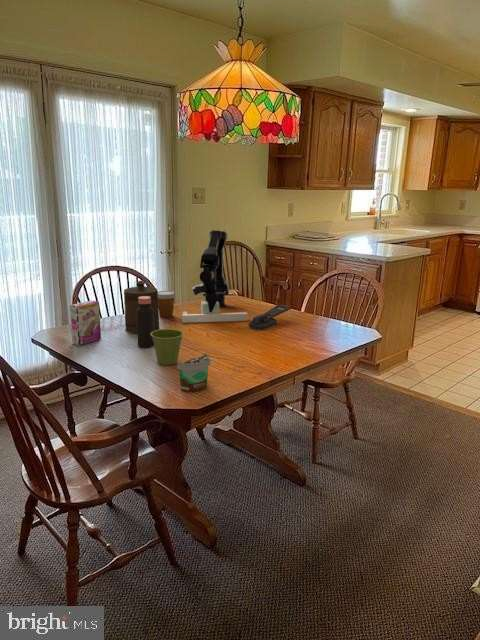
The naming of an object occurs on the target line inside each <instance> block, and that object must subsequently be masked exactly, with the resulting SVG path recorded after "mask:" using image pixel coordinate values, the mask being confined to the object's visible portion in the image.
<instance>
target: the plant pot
mask: <svg viewBox="0 0 480 640" xmlns="http://www.w3.org/2000/svg"><path fill="white" fill-rule="evenodd" d="M184 334H185V333H184V331H182V330H179V329H174V328H162V329H160V328H159V330H156V331H153V332H151V334H150V335H151V336H152V338H153V342H154V351H155V356H156V361H157V363H158V364H159V365H160V366H171V365H176V364H178V362H179V361H178V360H179V355H180V354H179V353H180V347H181V341H182V338H183V335H184Z"/></svg>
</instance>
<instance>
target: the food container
mask: <svg viewBox="0 0 480 640" xmlns="http://www.w3.org/2000/svg"><path fill="white" fill-rule="evenodd" d="M211 364H212V363H211V358H210V356H209V355H208V354H207V353H205V352H204V353H203V355H202V356H200V357H194V358H191V359H189V360H187V361H185V362H180V361H177V365H176V366H177V367H176V369H178V374H179V383H180V390H181V391H182V392H186V393H199V392H203V391H204V390H206V389H207V387H208V374H209V367H210V366H211Z"/></svg>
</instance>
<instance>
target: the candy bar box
mask: <svg viewBox="0 0 480 640" xmlns="http://www.w3.org/2000/svg"><path fill="white" fill-rule="evenodd" d="M100 309H101V308H100V302H99V301H97V300H96V301H95V300H92V299H91V300H88V301H83V302H77V303H74V304H70V305H69V313H70V327H71V343H74V344H73V345H75V344H77V345H76V346H78V345H81V346H83V345H82V344H84V345H86V344H85V343H87V344H90V343H89V342H91V343H93V342H92V341H94V342H97V341H100V340H99V339H101V340H102V333H101V331H102V330H101V329H102V327H101V313H100V312H101V311H100ZM96 340H97V341H96Z"/></svg>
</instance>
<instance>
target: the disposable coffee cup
mask: <svg viewBox="0 0 480 640" xmlns="http://www.w3.org/2000/svg"><path fill="white" fill-rule="evenodd" d="M175 298H176V293H175V291H173V290H160V291H158V310H159V318H162V319H169V318H172V317H173V316H174V305H175Z"/></svg>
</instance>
